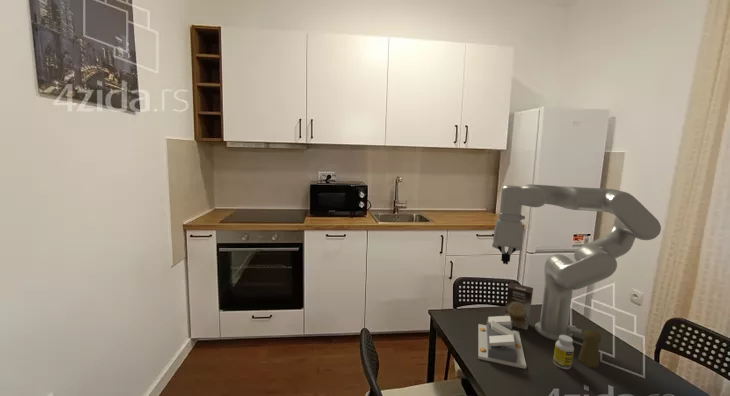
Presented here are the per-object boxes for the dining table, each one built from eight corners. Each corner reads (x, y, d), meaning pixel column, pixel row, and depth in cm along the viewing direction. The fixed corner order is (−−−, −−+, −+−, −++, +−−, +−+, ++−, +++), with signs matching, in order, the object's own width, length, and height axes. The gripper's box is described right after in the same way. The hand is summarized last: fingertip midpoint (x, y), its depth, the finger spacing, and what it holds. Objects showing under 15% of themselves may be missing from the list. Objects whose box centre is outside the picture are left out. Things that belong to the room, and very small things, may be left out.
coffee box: (503, 323, 138) (506, 287, 135) (505, 317, 143) (509, 281, 140) (527, 330, 133) (531, 293, 130) (529, 323, 138) (533, 287, 136)
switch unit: (518, 333, 130) (519, 323, 130) (526, 368, 110) (527, 356, 109) (478, 326, 135) (479, 316, 134) (478, 358, 115) (479, 346, 114)
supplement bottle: (565, 371, 109) (568, 344, 107) (549, 361, 114) (552, 335, 112) (574, 366, 112) (578, 340, 110) (559, 357, 116) (562, 331, 115)
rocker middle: (510, 335, 123) (513, 331, 122) (511, 342, 119) (514, 337, 118) (489, 324, 125) (492, 320, 124) (490, 330, 121) (492, 326, 120)
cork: (602, 368, 111) (607, 338, 109) (582, 365, 112) (586, 335, 110) (593, 357, 117) (598, 328, 115) (574, 354, 118) (579, 326, 116)
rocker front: (514, 339, 116) (513, 334, 116) (515, 346, 112) (514, 341, 112) (490, 341, 119) (489, 336, 118) (490, 348, 114) (489, 343, 114)
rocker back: (510, 320, 129) (509, 315, 129) (511, 326, 125) (510, 321, 125) (489, 321, 132) (488, 316, 132) (489, 327, 128) (488, 322, 127)
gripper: (529, 217, 129) (524, 262, 132) (488, 214, 134) (485, 257, 137) (532, 221, 122) (527, 269, 125) (489, 217, 127) (485, 263, 130)
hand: (505, 263), depth 131 cm, fingers closed
